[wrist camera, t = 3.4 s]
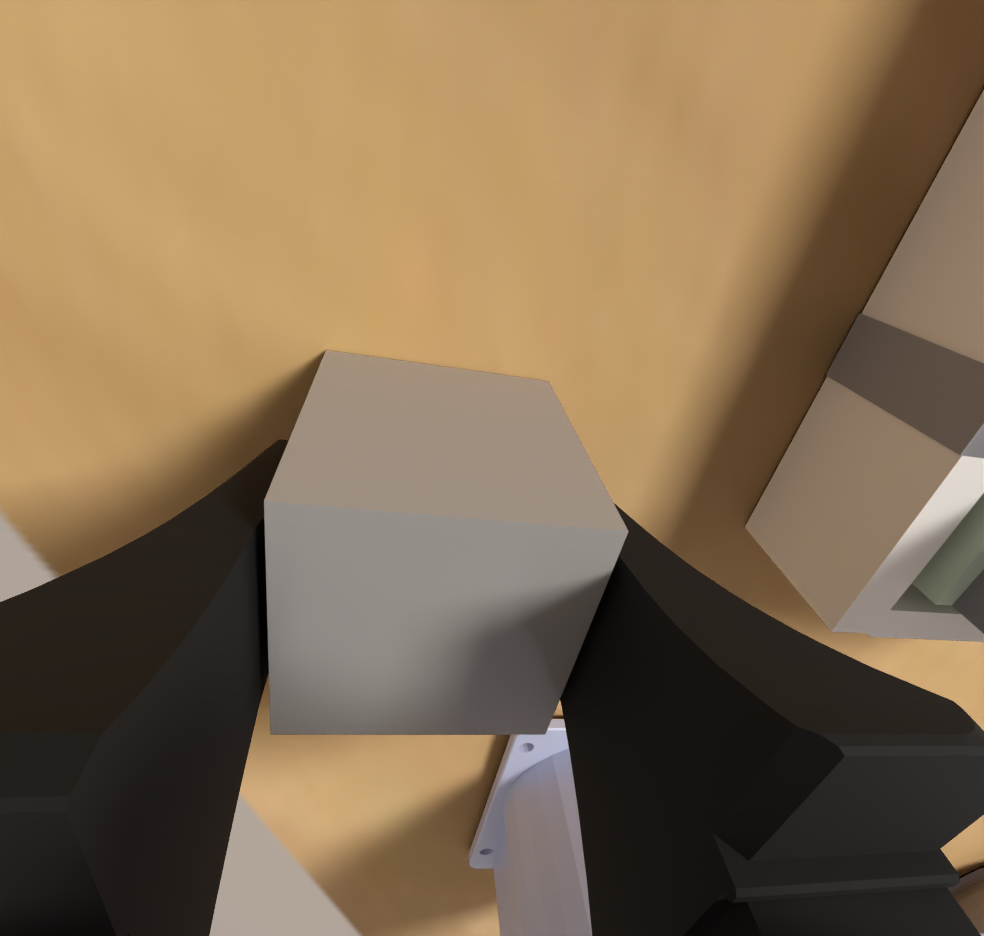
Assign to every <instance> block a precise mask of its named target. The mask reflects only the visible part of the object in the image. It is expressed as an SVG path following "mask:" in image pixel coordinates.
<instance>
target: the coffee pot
mask: <svg viewBox="0 0 984 936" xmlns="http://www.w3.org/2000/svg"><path fill="white" fill-rule="evenodd" d="M959 881H960V882H959V883H958V884H956V885H955V886H954V887H947V888H948V889H949V891H950V892H951V893H952V895H953V896H954V898H955V899H956V901H957V902H958V903H959V905H960V906H961V908H962V909H963V910H964V912H965V913H966V915H967V916H968V918H969V919H970V920H971V922H972V923H973V925H974V926H975V928H976V929H977V930H978V932H984V867H983V868H981V869H978V870H976V871H974V872H972V873H970V874H968V875H966V876H964V877H962V878H960V879H959Z"/></svg>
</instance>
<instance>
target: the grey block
mask: <svg viewBox="0 0 984 936" xmlns="http://www.w3.org/2000/svg"><path fill="white" fill-rule="evenodd" d="M264 520H265V554H266V589H267V624H268V659H269V694H270V729H271V735H545V734H546V732H547V729H548V727H549V725H550V722H551V720H552V717H553V715H554V712H555V710H556V707H557V705H558V703H559V700H560V698H561V695H562V693H563V690H564V688H565V685H566V683H567V681H568V678H569V676H570V673H571V671H572V668H573V666H574V664H575V661H576V659H577V656H578V654H579V651H580V649H581V646H582V644H583V642H584V639H585V637H586V634H587V632H588V629H589V627H590V624H591V622H592V620H593V617H594V615H595V612H596V610H597V607H598V605H599V602H600V600H601V598H602V595H603V593H604V590H605V588H606V585H607V583H608V580H609V578H610V576H611V573H612V571H613V568H614V566H615V563H616V561H617V558H618V556H619V554H620V551H621V549H622V546H623V544H624V541H625V539H626V536H627V534H628V532H629V531H628V529H627V527H626V526H625V524H624V522H623V520H622V518H621V516H620V514H619V512H618V511H617V509H616V507H615V505H614V503H613V501H612V499H611V497H610V495H609V494H608V492H607V490H606V488H605V486H604V484H603V482H602V480H601V479H600V477H599V475H598V473H597V471H596V469H595V467H594V465H593V463H592V462H591V460H590V458H589V456H588V454H587V452H586V450H585V448H584V447H583V445H582V443H581V441H580V439H579V437H578V435H577V433H576V431H575V430H574V428H573V426H572V424H571V422H570V420H569V418H568V416H567V415H566V413H565V411H564V409H563V407H562V405H561V403H560V401H559V399H558V398H557V396H556V394H555V392H554V390H553V388H552V386H551V384H550V382H549V381H544V380H537V379H529V378H522V377H515V376H508V375H501V374H494V373H487V372H480V371H472V370H465V369H458V368H451V367H444V366H437V365H430V364H422V363H415V362H408V361H401V360H394V359H387V358H380V357H373V356H365V355H358V354H351V353H344V352H337V351H330V350H326V351H325V354H324V356H323V359H322V361H321V363H320V366H319V368H318V371H317V373H316V376H315V378H314V380H313V383H312V385H311V388H310V390H309V393H308V395H307V398H306V400H305V402H304V405H303V407H302V410H301V412H300V415H299V417H298V419H297V422H296V424H295V427H294V429H293V432H292V434H291V436H290V439H289V441H288V444H287V446H286V449H285V451H284V453H283V456H282V458H281V461H280V463H279V466H278V468H277V471H276V473H275V475H274V478H273V480H272V483H271V485H270V488H269V490H268V492H267V495H266V497H265V500H264Z"/></svg>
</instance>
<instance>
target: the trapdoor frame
mask: <svg viewBox="0 0 984 936" xmlns="http://www.w3.org/2000/svg"><path fill="white" fill-rule="evenodd" d="M826 376H827V377H826V379H825V381H824V383H823V385H822V387H821V388H820V390H819V392H818V394H817V396H816V398H815V399H814V401H813V403H812V405H811V407H810V409H809V410H808V412H807V414H806V416H805V418H804V420H803V421H802V423H801V425H800V427H799V429H798V431H797V432H796V434H795V436H794V438H793V440H792V442H791V443H790V445H789V447H788V449H787V451H786V453H785V454H784V456H783V458H782V460H781V462H780V464H779V465H778V467H777V469H776V471H775V473H774V475H773V476H772V478H771V480H770V482H769V484H768V486H767V487H766V489H765V491H764V493H763V495H762V497H761V498H760V500H759V502H758V504H757V506H756V507H755V509H754V511H753V513H752V515H751V517H750V518H749V520H748V522H747V524H746V526H745V528H746V529H747V531H748V532H749V533H750V534H751V535H752V537H753V538H754V539H755V540H756V541H757V543H758V544H759V545H760V546H761V548H762V549H763V550H764V551H765V552H766V554H767V555H768V556H769V557H770V558H771V560H772V561H773V562H774V563H775V564H776V566H777V567H778V568H779V569H780V570H781V572H782V573H783V574H784V575H785V576H786V578H787V579H788V580H789V581H790V582H791V584H792V585H793V586H794V587H795V588H796V590H797V591H798V592H799V593H800V595H801V596H802V597H803V598H804V599H805V601H806V602H807V603H808V604H809V605H810V607H811V608H812V609H813V610H814V611H815V613H816V614H817V615H818V616H819V617H820V619H821V620H822V621H823V622H824V623H825V625H826V626H827V627H828V628H829V629H830V631H831V632H847V633H866V634H867V635H868V637H884V638H907V639H929V640H952V641H975V642H984V634H983V633H982V632H981V631H980V630H979V629H978V628H977V627H975V626H974V625H973V624H972V623H971V622H970V621H969V620H968V619H966V618H965V617H964V616H963V615H962V614H961V613H960V612H958V611H957V610H956V609H955V608H954V607H953V606H950V605H935V604H934V603H933V602H932V601H931V600H930V599H929V598H928V597H926V596H925V595H924V594H923V593H922V592H921V591H920V590H919V589H918V588H917V587H916V586H914V585H913V584H912V582H913V581H914V580H915V578H916V577H917V576H918V575H919V573H920V572H921V571H922V570H923V568H924V567H925V566H926V565H927V563H928V562H929V561H930V560H931V558H932V557H933V556H934V555H935V553H936V552H937V551H938V550H939V548H940V547H941V546H942V545H943V543H944V542H945V541H946V540H947V538H948V537H949V536H950V535H951V533H952V532H953V531H954V530H955V528H956V527H957V526H958V525H959V523H960V522H961V521H962V520H963V518H964V517H965V516H966V515H967V513H968V512H969V511H970V510H971V508H972V507H973V506H974V505H975V503H976V502H977V501H978V500H979V498H980V497H981V496H982V494H983V493H984V90H983V92H982V94H981V95H980V97H979V99H978V101H977V103H976V105H975V106H974V108H973V110H972V112H971V114H970V116H969V117H968V119H967V121H966V123H965V125H964V127H963V128H962V130H961V132H960V134H959V136H958V138H957V139H956V141H955V143H954V145H953V147H952V149H951V150H950V152H949V154H948V156H947V158H946V160H945V161H944V163H943V165H942V167H941V169H940V171H939V172H938V174H937V176H936V178H935V180H934V182H933V183H932V185H931V187H930V189H929V191H928V193H927V194H926V196H925V198H924V200H923V202H922V204H921V205H920V207H919V209H918V211H917V213H916V215H915V216H914V218H913V220H912V222H911V224H910V225H909V227H908V229H907V231H906V233H905V235H904V236H903V238H902V240H901V242H900V244H899V246H898V247H897V249H896V251H895V253H894V255H893V257H892V258H891V260H890V262H889V264H888V266H887V268H886V269H885V271H884V273H883V275H882V277H881V279H880V280H879V282H878V284H877V286H876V288H875V290H874V291H873V293H872V295H871V297H870V299H869V301H868V302H867V304H866V306H865V308H864V310H863V312H862V313H859V315H858V317H857V319H856V320H855V322H854V324H853V326H852V328H851V330H850V331H849V333H848V335H847V337H846V339H845V341H844V342H843V344H842V346H841V348H840V350H839V352H838V353H837V355H836V357H835V359H834V361H833V363H832V364H831V366H830V368H829V370H828V372H827V374H826Z"/></svg>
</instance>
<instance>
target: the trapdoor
mask: <svg viewBox="0 0 984 936" xmlns="http://www.w3.org/2000/svg"><path fill="white" fill-rule="evenodd" d="M912 584H913V585H914V586H916V587H917V588H918V589H919V590H920V591H921V592H922V593H923V594H924V595H925V596H926V597H928V598H929V599H930V600H931V601H932V602H933V603H934V604H935V605H950V606H953V607H954V608H955V609H956V610H957V611H958V612H960V613H961V614H962V615H963V616H964V617H965V618H966V619H968V620H969V621H970V622H971V623H972V624H973V625H974V626H975V627H977V628H978V629H979V630H980V631H981V632H982V633H983V634H984V493H983V494H982V496H981V497H980V498H979V500H978V501H977V502H976V503H975V505H974V506H973V507H972V508H971V510H970V511H969V512H968V513H967V515H966V516H965V517H964V518H963V520H962V521H961V522H960V523H959V525H958V526H957V527H956V528H955V530H954V531H953V532H952V533H951V535H950V536H949V537H948V538H947V540H946V541H945V542H944V543H943V545H942V546H941V547H940V548H939V550H938V551H937V552H936V553H935V555H934V556H933V557H932V558H931V560H930V561H929V562H928V563H927V565H926V566H925V567H924V568H923V570H922V571H921V572H920V573H919V575H918V576H917V577H916V578H915V580H914V581H913V582H912Z"/></svg>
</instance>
